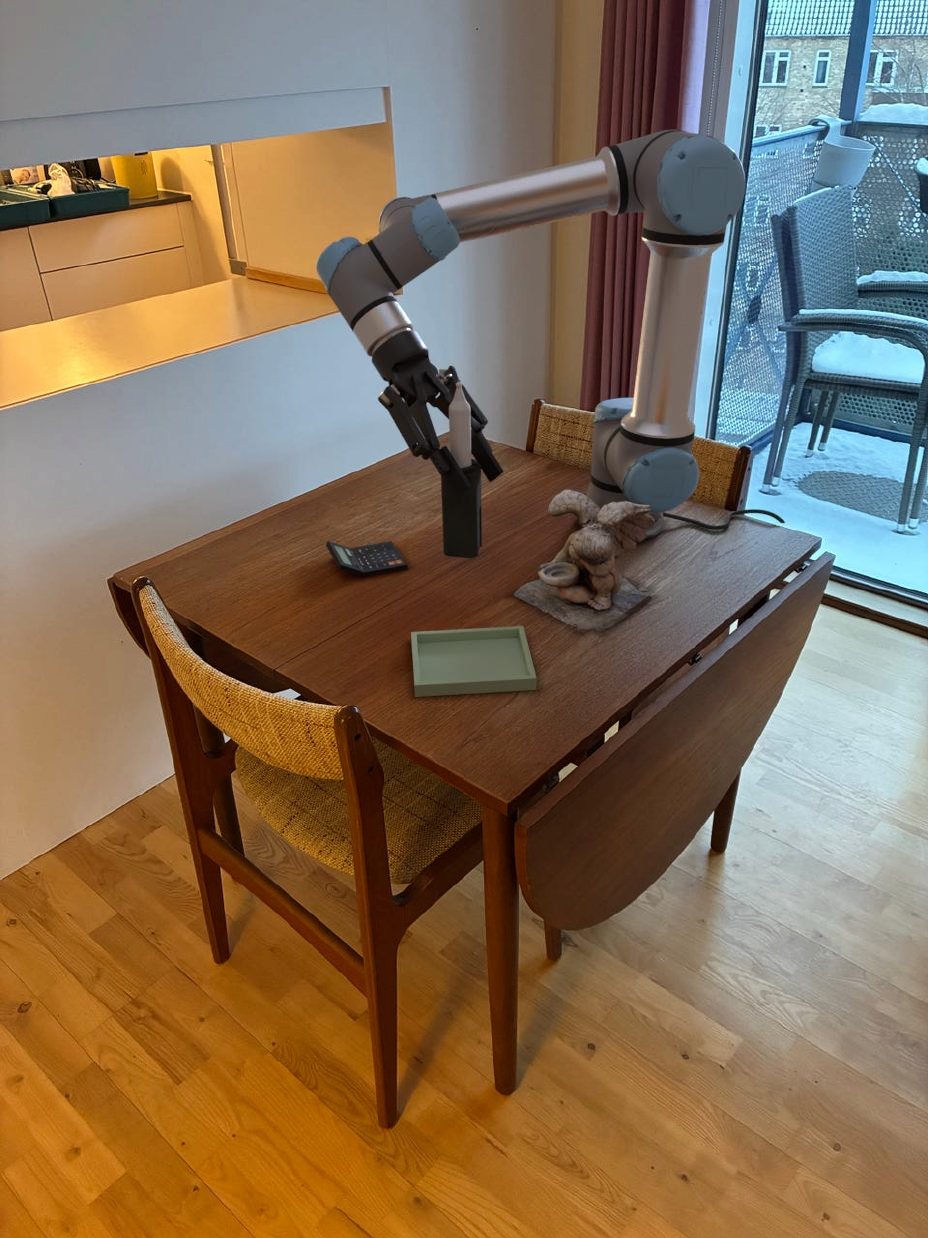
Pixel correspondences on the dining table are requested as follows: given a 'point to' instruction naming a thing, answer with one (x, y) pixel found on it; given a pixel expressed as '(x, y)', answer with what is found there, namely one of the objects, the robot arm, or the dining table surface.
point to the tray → (471, 661)
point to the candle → (466, 509)
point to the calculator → (367, 558)
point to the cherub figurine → (591, 564)
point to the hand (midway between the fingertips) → (480, 483)
